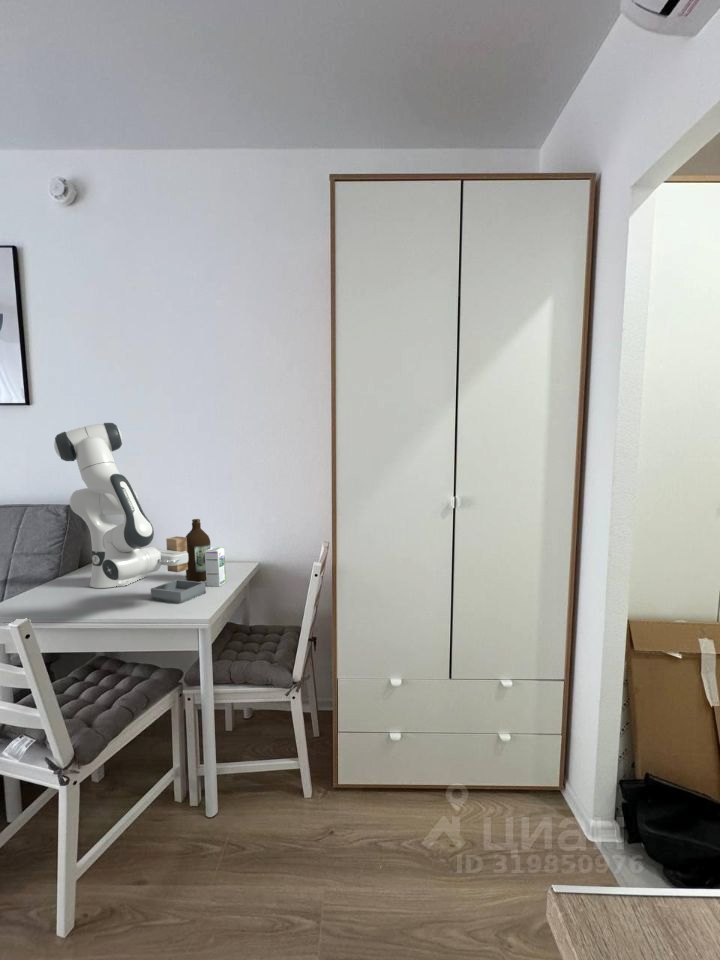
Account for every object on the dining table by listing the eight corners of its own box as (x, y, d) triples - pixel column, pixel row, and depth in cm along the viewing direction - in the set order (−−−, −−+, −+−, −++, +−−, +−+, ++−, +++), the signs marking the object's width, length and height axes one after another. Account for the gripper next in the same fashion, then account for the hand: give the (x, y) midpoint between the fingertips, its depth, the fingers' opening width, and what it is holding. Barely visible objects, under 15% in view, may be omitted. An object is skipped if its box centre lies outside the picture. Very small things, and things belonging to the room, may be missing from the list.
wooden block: (177, 572, 200) (176, 539, 199) (167, 571, 203) (166, 538, 202) (187, 569, 205) (186, 537, 204) (178, 568, 207) (176, 536, 206)
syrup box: (220, 586, 217) (218, 550, 215) (206, 586, 218) (204, 550, 217) (226, 583, 222) (224, 547, 221) (212, 582, 223) (211, 547, 222)
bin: (177, 589, 214) (176, 579, 213) (205, 593, 208) (205, 582, 208) (151, 599, 201) (150, 588, 201) (181, 603, 196) (180, 592, 195)
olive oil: (179, 579, 228) (177, 519, 226) (202, 574, 236) (200, 516, 234) (194, 584, 221) (191, 522, 219) (216, 578, 229) (214, 518, 227)
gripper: (170, 553, 187) (199, 546, 199) (128, 548, 196) (159, 541, 208) (170, 572, 187) (200, 563, 199) (129, 566, 197) (159, 558, 209)
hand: (178, 552), depth 204 cm, fingers closed on wooden block, 5 cm apart
